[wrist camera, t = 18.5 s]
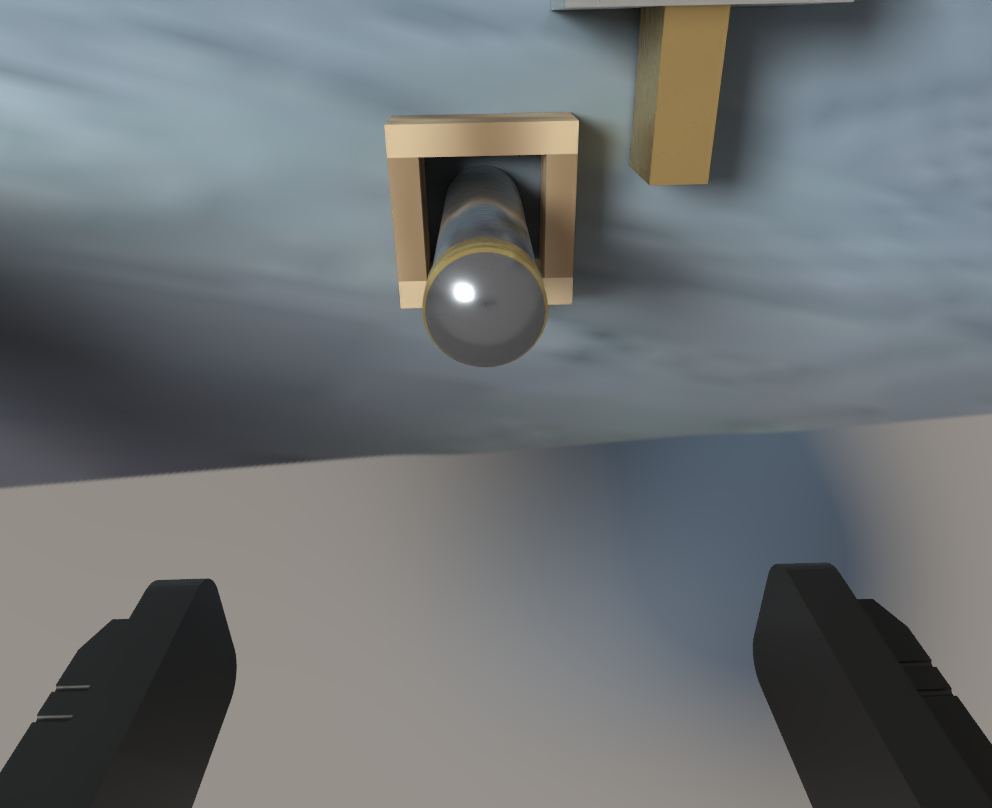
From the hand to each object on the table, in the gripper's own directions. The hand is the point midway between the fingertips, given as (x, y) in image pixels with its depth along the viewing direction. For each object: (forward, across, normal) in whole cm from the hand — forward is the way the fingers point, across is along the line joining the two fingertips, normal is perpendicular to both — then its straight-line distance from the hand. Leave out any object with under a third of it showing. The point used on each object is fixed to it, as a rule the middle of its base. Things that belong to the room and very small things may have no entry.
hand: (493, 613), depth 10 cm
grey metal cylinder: (+26, 0, 0) cm, 26 cm away
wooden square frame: (+26, 0, 0) cm, 26 cm away
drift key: (+26, -8, -6) cm, 28 cm away
